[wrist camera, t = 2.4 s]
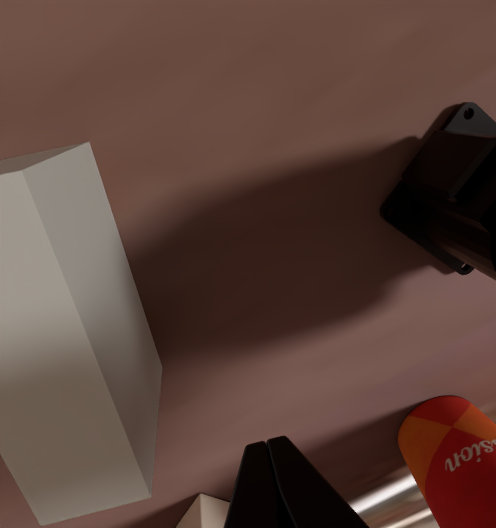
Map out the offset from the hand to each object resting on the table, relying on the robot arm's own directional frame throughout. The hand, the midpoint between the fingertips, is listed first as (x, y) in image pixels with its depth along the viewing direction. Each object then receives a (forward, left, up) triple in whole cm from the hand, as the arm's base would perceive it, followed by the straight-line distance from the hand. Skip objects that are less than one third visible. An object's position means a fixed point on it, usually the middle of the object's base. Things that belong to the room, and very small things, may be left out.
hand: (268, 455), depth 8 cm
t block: (+7, +7, -13) cm, 17 cm away
